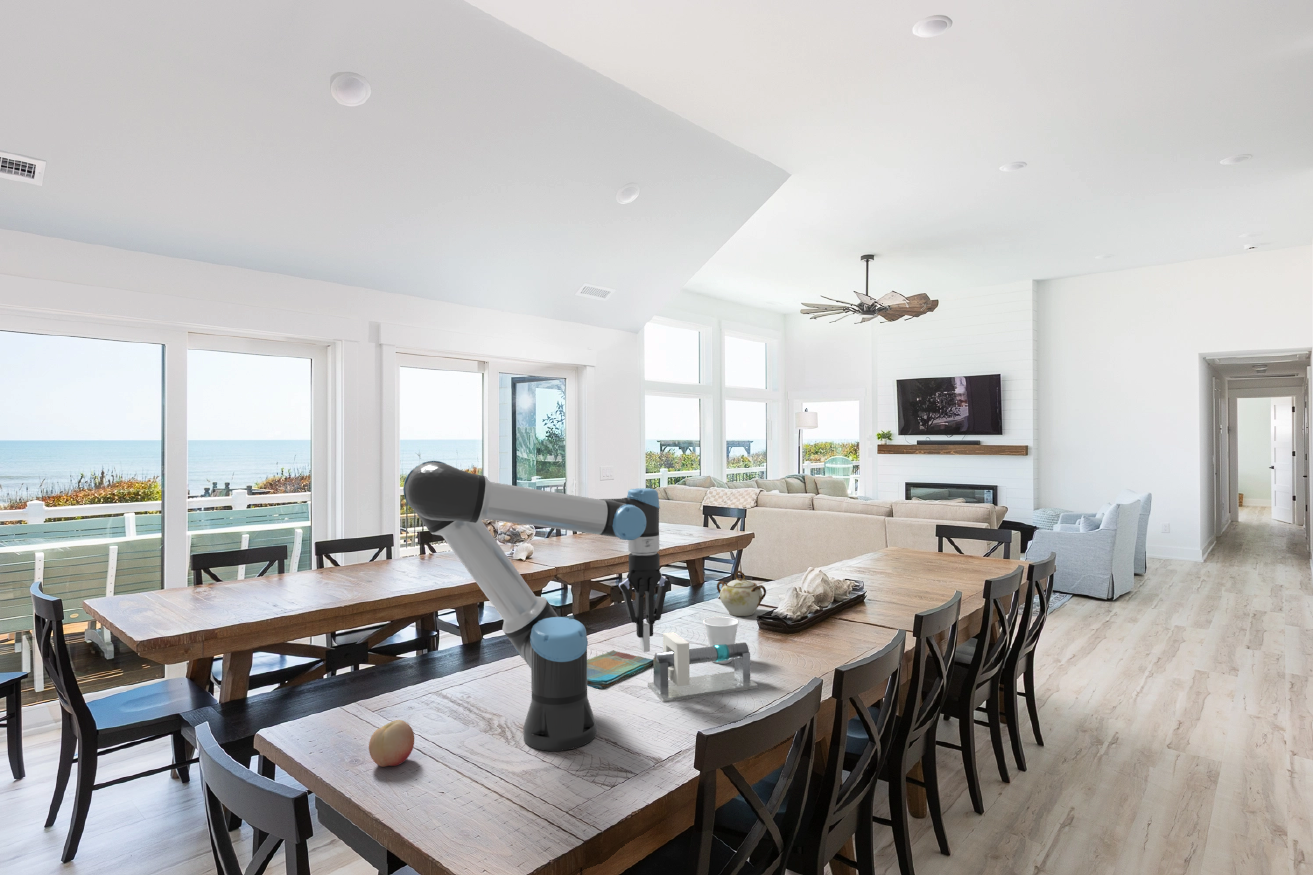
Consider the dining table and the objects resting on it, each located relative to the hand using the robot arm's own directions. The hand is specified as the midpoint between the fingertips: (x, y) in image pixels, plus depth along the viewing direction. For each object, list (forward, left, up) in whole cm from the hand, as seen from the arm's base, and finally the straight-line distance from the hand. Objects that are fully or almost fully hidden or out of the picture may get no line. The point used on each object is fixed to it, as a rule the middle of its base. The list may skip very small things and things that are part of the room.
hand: (645, 649), depth 169 cm
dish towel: (-4, +21, -12) cm, 24 cm away
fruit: (-57, -16, -11) cm, 60 cm away
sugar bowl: (+56, +61, -11) cm, 84 cm away
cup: (+28, +17, -11) cm, 35 cm away
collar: (+8, 0, -8) cm, 11 cm away
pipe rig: (+15, 0, -11) cm, 19 cm away
